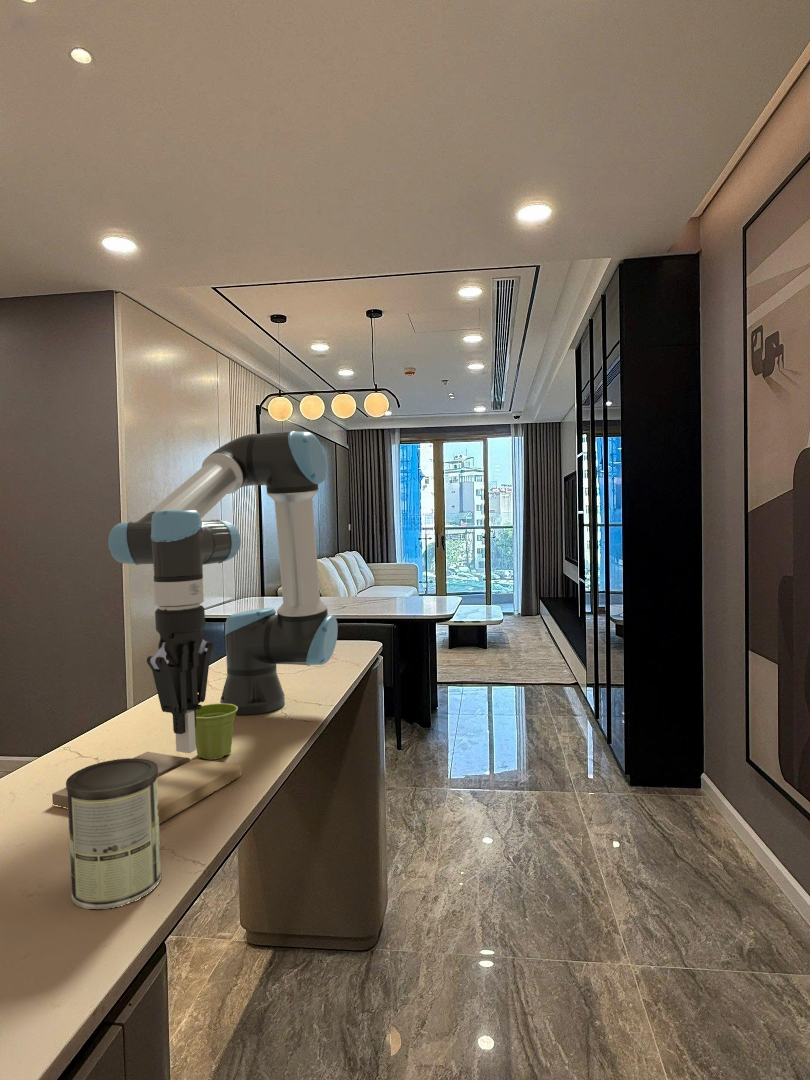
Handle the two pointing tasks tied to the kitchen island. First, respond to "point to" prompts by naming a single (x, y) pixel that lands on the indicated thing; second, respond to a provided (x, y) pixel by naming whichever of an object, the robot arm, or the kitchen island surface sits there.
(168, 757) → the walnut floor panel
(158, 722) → the kitchen island surface
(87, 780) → the coffee can
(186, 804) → the oak plank
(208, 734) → the plant pot
